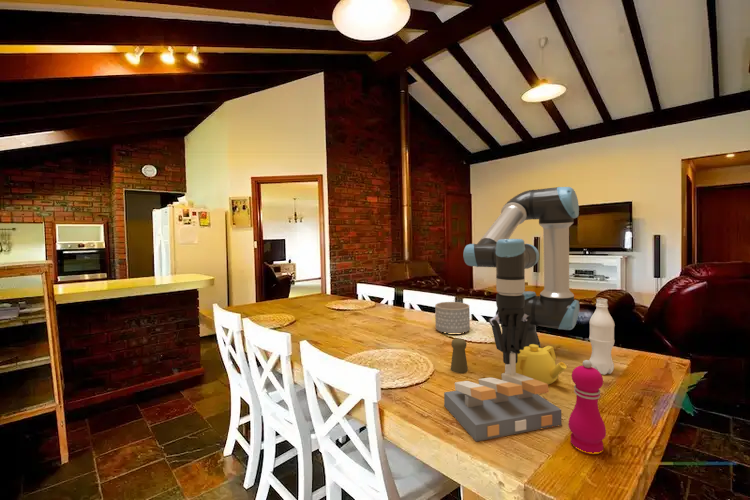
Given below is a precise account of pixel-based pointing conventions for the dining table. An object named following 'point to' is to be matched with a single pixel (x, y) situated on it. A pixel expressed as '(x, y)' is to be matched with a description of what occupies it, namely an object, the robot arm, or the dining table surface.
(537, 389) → the rocker
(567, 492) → the dining table surface
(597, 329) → the water bottle
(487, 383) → the rocker
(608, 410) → the dining table surface
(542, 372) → the teapot
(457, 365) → the olive brown shaker
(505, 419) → the switch box
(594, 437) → the pepper mill
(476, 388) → the rocker
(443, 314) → the planter
